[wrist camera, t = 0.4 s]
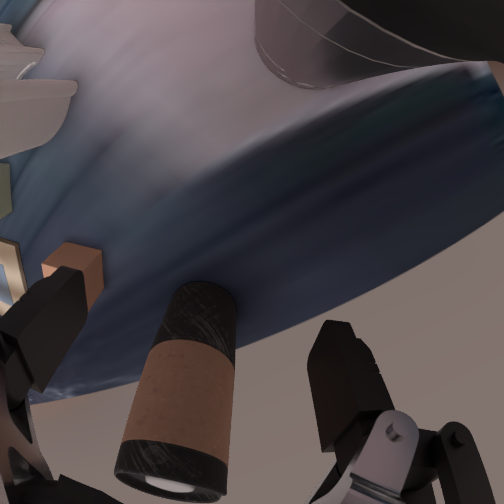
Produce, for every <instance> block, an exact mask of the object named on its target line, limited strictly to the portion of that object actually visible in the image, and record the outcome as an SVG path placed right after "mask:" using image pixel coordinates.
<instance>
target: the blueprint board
mask: <svg viewBox="0 0 504 504" xmlns="http://www.w3.org/2000/svg"><path fill="white" fill-rule="evenodd" d="M27 290H28V288H27V284H26V280H25V275H24V271H23V266H22V261H21V256H20V251H19V245H18V243H15V242H12V241H9V240H6V239H3V238H0V315H2V316H3V315H4V314H5V313H6V312H7V311H8V310H9V308H10V307H11V306H12V305H13V304H14V303H15V302H16V301H19V298H20V297H21V296H22V295H23V294H24V293H25V294H26V291H27Z"/></svg>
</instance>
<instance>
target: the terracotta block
mask: <svg viewBox="0 0 504 504" xmlns="http://www.w3.org/2000/svg"><path fill="white" fill-rule="evenodd" d="M41 264H42V270H43V275H44V278H45V277H47V276H48V277H49V276H50V275H51V274H52V273H53V272H54V271H56V270H57V269H58V268H59V267H60V266H67V267H70V268H74V269H78V270H81V271H82V272H83V274H84V281H85V290H86V298H87V306H88V311H89V310H90V308H91V307H92V305H93V304H94V302H95V301H96V299H97V298H98V296H99V295H100V293H101V292H102V291H103V289H104V281H103V266H102V250H98V249H94V248H89V247H85V246H81V245H77V244H73V243H69V242H64V243H63V244H62V245H61V246H60V247H59V248H58V249H57V250H55V251H54V252H53V253H52V254H51V255H50V256H49V257H48V258H47V259H46V260H45V261H44V262H42V263H41Z"/></svg>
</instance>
